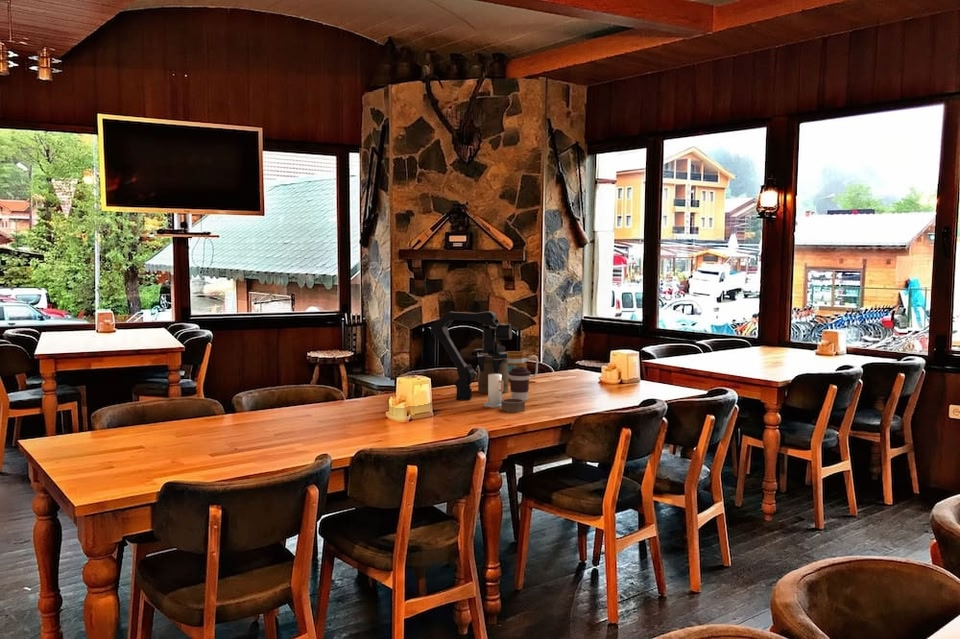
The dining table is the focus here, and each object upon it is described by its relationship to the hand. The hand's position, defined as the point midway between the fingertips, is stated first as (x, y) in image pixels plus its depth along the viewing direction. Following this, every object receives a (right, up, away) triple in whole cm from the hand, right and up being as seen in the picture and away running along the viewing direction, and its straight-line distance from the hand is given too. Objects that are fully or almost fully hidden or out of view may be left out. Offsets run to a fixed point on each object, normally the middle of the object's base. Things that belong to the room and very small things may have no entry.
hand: (489, 372), depth 351 cm
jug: (+2, -13, -11) cm, 17 cm away
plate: (+3, -14, -11) cm, 18 cm away
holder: (+10, -15, -20) cm, 27 cm away
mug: (+17, -9, +56) cm, 59 cm away
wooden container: (+2, -11, +25) cm, 27 cm away
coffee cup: (+14, -13, +2) cm, 19 cm away
